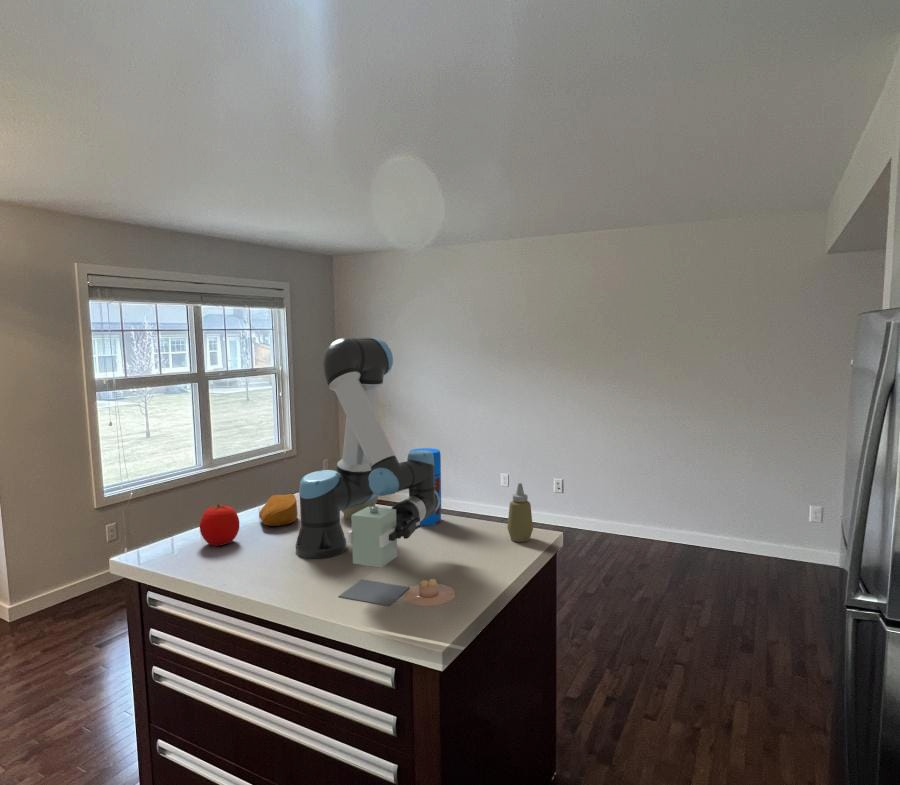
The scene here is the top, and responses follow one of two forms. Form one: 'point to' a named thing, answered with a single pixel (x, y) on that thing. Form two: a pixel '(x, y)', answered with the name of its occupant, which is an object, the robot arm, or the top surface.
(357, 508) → the planter bowl
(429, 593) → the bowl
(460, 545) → the top surface
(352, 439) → the robot arm
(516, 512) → the squeeze bottle
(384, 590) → the mat
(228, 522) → the red apple
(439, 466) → the thermos
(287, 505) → the bread
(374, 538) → the cover
